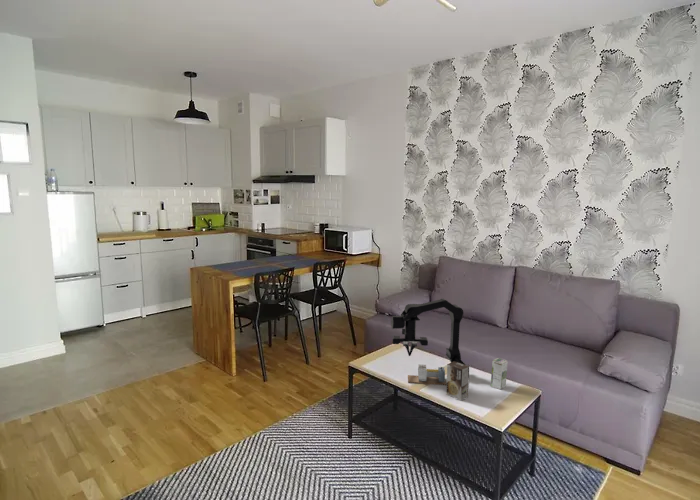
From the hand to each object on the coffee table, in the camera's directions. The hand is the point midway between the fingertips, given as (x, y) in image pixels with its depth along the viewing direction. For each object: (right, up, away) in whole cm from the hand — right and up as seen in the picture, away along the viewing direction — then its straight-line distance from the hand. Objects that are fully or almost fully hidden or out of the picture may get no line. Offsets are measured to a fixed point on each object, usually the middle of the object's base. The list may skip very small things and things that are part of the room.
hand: (409, 355), depth 228 cm
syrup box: (+45, -14, -8) cm, 48 cm away
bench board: (+9, -13, -2) cm, 16 cm away
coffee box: (+21, -16, -18) cm, 32 cm away
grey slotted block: (+7, -13, -2) cm, 15 cm away
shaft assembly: (+12, -12, -2) cm, 17 cm away
